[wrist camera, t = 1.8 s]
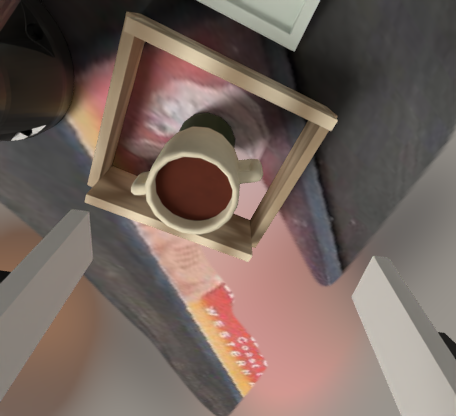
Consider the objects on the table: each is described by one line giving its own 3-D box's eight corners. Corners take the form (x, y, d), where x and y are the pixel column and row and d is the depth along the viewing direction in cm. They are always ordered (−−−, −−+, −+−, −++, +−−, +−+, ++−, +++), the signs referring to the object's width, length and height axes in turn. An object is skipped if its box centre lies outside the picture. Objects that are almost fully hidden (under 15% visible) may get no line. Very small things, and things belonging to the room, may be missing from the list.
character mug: (167, 174, 36) (135, 241, 25) (151, 114, 32) (105, 160, 21) (258, 164, 35) (269, 228, 24) (252, 100, 31) (261, 140, 20)
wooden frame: (101, 169, 36) (74, 198, 30) (140, 13, 28) (113, 9, 22) (253, 228, 39) (256, 264, 33) (326, 106, 31) (348, 125, 25)
